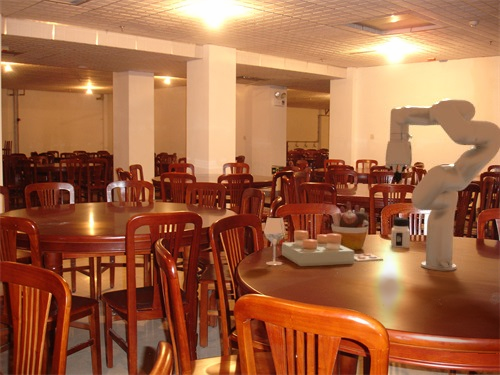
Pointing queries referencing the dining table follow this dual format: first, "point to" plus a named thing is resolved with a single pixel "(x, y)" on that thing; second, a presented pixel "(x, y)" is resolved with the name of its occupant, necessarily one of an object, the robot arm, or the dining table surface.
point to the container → (400, 233)
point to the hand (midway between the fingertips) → (397, 182)
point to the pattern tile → (366, 257)
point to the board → (317, 255)
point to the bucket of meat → (351, 227)
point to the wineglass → (274, 234)
